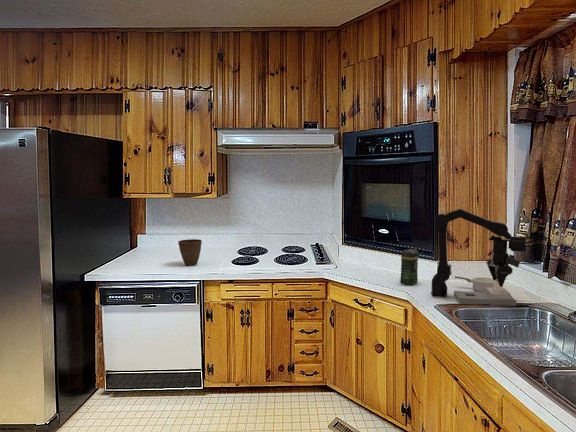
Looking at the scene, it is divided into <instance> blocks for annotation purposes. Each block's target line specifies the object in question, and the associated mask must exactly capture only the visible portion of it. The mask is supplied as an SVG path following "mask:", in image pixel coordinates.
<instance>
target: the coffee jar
mask: <svg viewBox="0 0 576 432" xmlns="http://www.w3.org/2000/svg"><path fill="white" fill-rule="evenodd" d="M400 256H401V257H400V259H401V261H400V262H401V265H400V266H401V267H400V279H399V282H400V284H402V285H404V286H414V285H416V284H418V282H419V280H418V279H419V277H418V276H419V275H418V268H419V267H418V264H419V263H418V262H419V251H418V250H417V249H413V248H408V249H406V250H402V251H401V254H400Z"/></svg>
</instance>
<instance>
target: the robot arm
mask: <svg viewBox="0 0 576 432" xmlns="http://www.w3.org/2000/svg"><path fill="white" fill-rule="evenodd" d="M457 219H463V220H465V221H468V222H470V223H472V224H474V225H475V224H476V225H478V226H479V227H482V228H485V229H487V230H488V231H489V232H491V233H492V234H491V236H490V237H488V241H492V251H491V252H490V253H491V256H492V257H491V258H487V259H486V266H487V268H488V271H489V272H490V275H491V278H492V279H493V280H498V283H499V286H500V287H502V286H503V287H504V283H505V281H506V279H507V277H508V276H509V275H512V274H513V271H514V270H513V269H514V268H512V266H513V267H515V268H519V266H520V264H521V260H519V259H517V258H516V257H515V255H513V254H509V253H508V252H507V250H508V249H509V250H510V251H511V252H517V253H519V252H521V253H525V252H527V242H526V236H512V234H511V233H510V232H509V228H508V225H507V224H506V223H504V222H501V221H497V220H492V219H487V218H485V217H482V216H480V215H477V214H476V213H472V212H470V211H467V210H465V209H464V208H458V209H455V210H453V211H450V212H447V213H444V212H441V213H439V214H437V216H436V217H435V219H434V222H435V225H436V230H437V234H438V238H437V239H438V265H437V270H436V274H434V275H433V276H432V279H431V288H430V289H431V291H430V294H431V297H436V298H437V297H438V298H439V297H441V298H447V295H448V286H447V283H446V282H447V281H448V280H449V279H450V277H451V276H452V273H453V272H452V264H449V262H448V233H447V232H448V228H449V224H450V223H451V222H452V221H455V220H457ZM495 235H496V236H495ZM502 237H503V238H502ZM507 248H508V249H507ZM510 265H511V266H510Z"/></svg>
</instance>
